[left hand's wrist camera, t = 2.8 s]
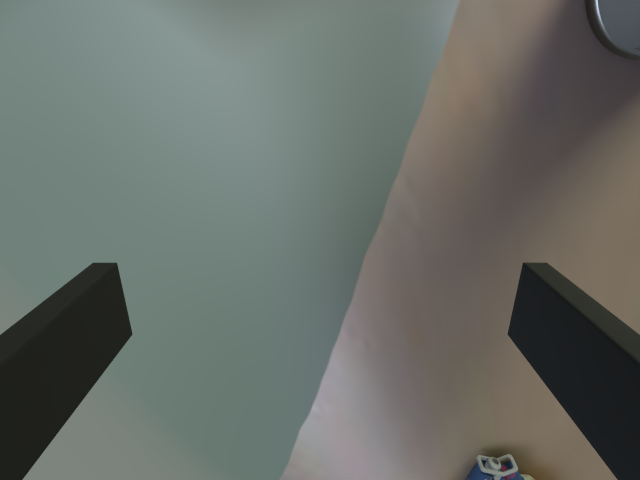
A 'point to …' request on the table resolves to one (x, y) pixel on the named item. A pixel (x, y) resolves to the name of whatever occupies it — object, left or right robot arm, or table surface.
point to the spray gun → (496, 469)
